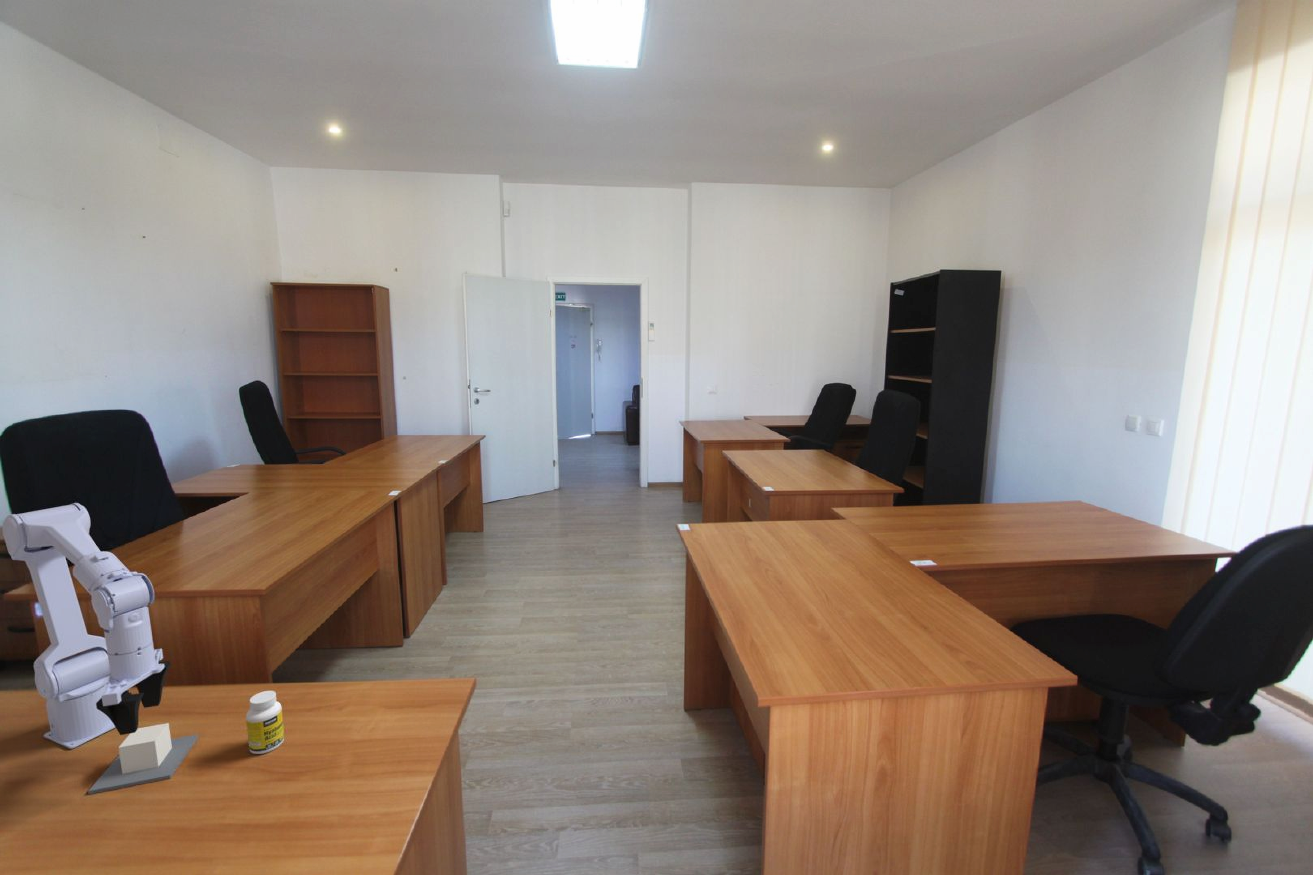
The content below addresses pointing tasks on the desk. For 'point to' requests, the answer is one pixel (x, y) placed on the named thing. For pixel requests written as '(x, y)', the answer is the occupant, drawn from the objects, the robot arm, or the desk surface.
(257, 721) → the supplement bottle
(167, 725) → the cube
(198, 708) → the desk surface
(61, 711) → the robot arm
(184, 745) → the mat
